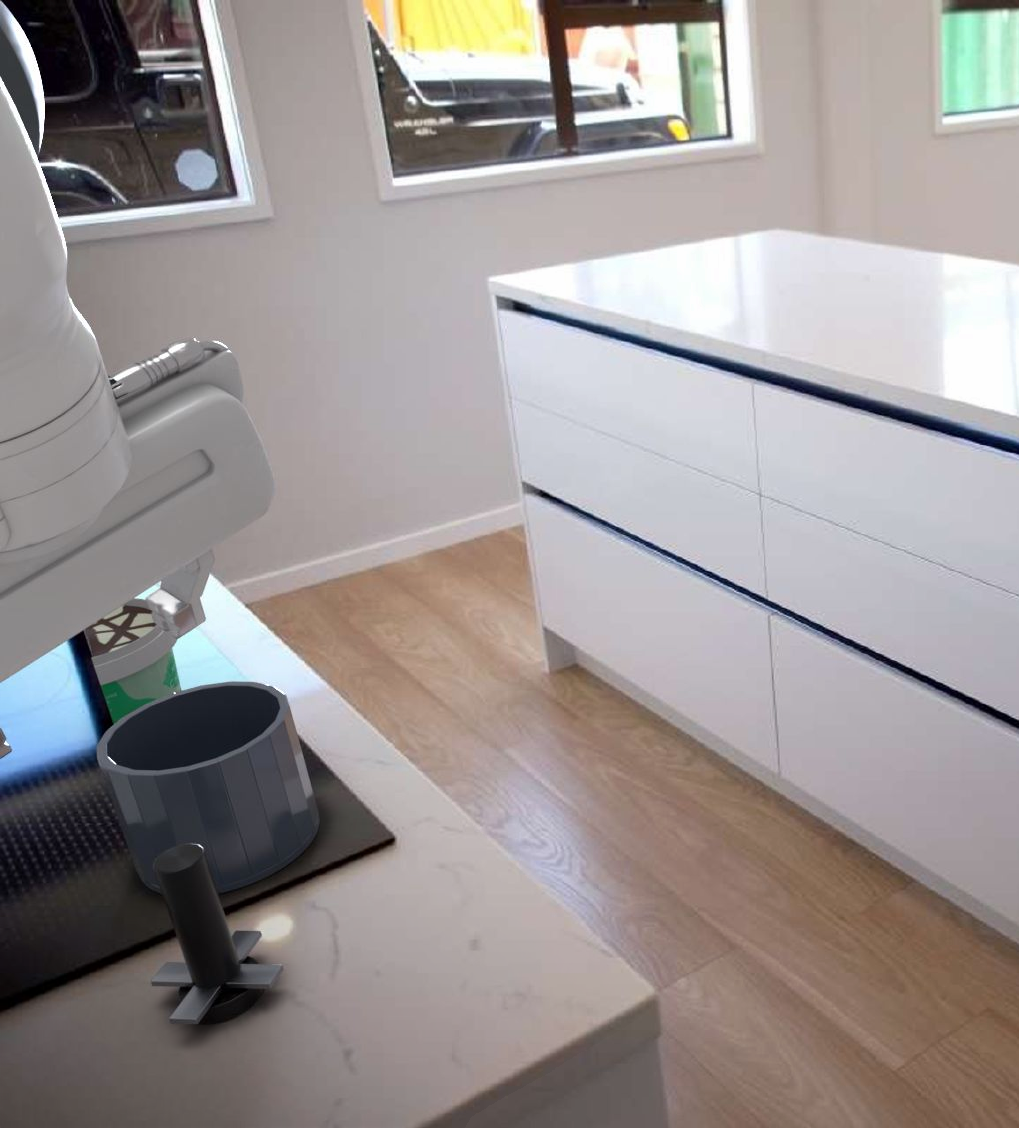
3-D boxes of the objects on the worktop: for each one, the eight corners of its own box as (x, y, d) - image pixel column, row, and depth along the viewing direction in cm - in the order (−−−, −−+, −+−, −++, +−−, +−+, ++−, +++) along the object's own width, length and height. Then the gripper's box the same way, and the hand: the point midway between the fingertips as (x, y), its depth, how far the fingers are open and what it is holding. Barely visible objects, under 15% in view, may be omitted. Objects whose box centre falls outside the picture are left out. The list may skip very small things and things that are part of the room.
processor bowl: (99, 873, 86) (56, 754, 82) (239, 781, 96) (205, 669, 92) (222, 915, 82) (182, 790, 78) (355, 813, 91) (326, 698, 87)
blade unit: (130, 1041, 72) (76, 899, 68) (199, 952, 78) (154, 817, 74) (251, 1044, 71) (204, 901, 67) (311, 954, 78) (272, 818, 74)
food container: (218, 748, 100) (183, 635, 96) (131, 776, 97) (92, 661, 93) (190, 686, 109) (158, 581, 105) (110, 710, 106) (74, 602, 102)
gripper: (172, 290, 54) (235, 529, 64) (-384, 550, 41) (-199, 804, 50) (280, 350, 52) (327, 586, 62) (-266, 642, 39) (-97, 888, 48)
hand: (88, 686), depth 56 cm, fingers open, 8 cm apart
